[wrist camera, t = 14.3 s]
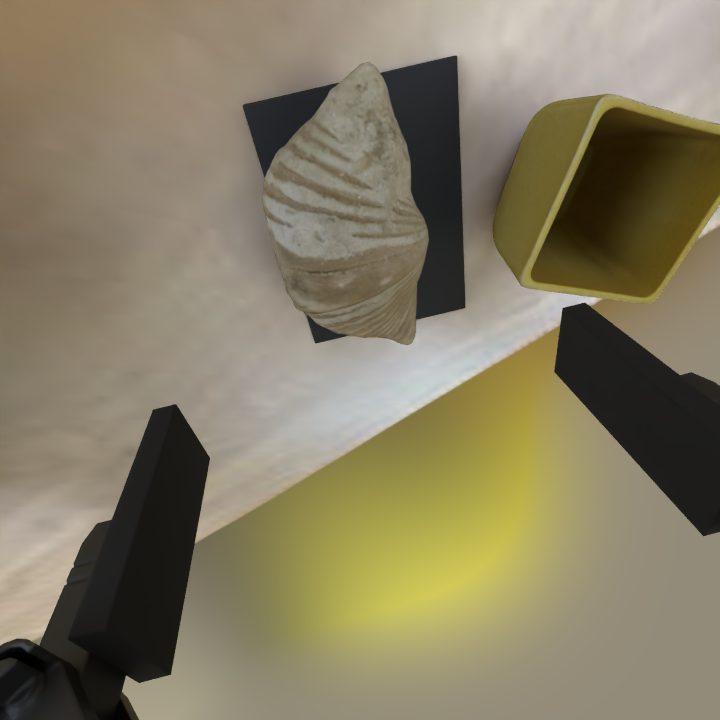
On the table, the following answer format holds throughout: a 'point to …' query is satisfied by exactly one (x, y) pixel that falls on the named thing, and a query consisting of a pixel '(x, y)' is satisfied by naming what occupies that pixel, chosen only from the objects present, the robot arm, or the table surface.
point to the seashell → (349, 214)
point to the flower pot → (607, 197)
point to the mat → (427, 159)
